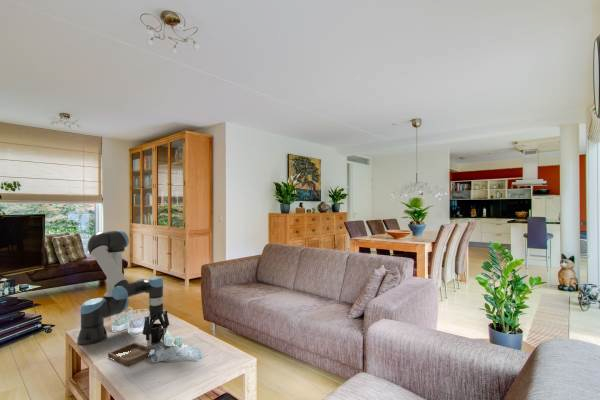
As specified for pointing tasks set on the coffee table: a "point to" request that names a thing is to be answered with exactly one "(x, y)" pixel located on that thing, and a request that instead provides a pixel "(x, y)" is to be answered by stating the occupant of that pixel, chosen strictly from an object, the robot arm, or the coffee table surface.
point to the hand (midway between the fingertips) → (156, 342)
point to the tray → (130, 354)
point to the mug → (156, 332)
